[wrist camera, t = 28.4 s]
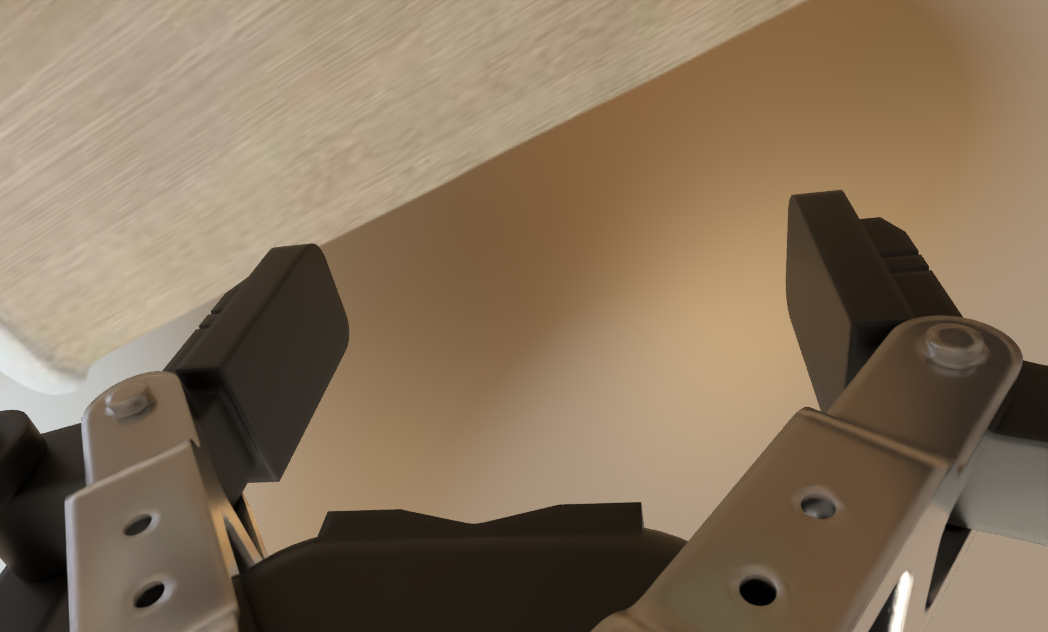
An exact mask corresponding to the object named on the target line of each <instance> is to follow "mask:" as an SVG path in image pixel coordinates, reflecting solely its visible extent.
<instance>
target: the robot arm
mask: <svg viewBox="0 0 1048 632" xmlns="http://www.w3.org/2000/svg"><path fill="white" fill-rule="evenodd" d="M786 297H787V305H788V311H789V315H790V319H791V322H792V325H793V328H794V331H795V334H796V337H797V340H798V343H799V346H800V349H801V352H802V355H803V358H804V361H805V364H806V367H807V370H808V373H809V376H810V379H811V382H812V385H813V388H814V391H815V394H816V397H817V400H818V403H819V407H820V409H821V411H818V410H815V409H813V408H810V407H804V408H802V409H800V410H799V411H798V412H797V413H796V414H795V415H794V416H793V417H792V418H791V419H790V420H789V421H788V423H787V424H786V425H785V426H784V427H783V429H782V430H781V431H780V432H779V433H778V435H777V436H776V437H775V438H774V439H773V441H772V442H771V443H770V444H769V445H768V447H767V448H766V449H765V450H764V452H763V453H762V454H761V455H760V456H759V457H758V459H757V460H756V461H755V462H754V463H753V465H752V466H751V467H750V468H749V469H748V471H747V472H746V473H745V474H744V475H743V477H742V478H741V479H740V480H739V482H738V483H737V484H736V485H735V486H734V487H733V488H732V490H731V491H730V492H729V493H728V495H727V496H726V497H725V498H724V499H723V500H722V502H721V503H720V504H719V505H718V506H717V508H716V509H715V510H714V511H713V512H712V514H711V515H710V516H709V517H708V518H707V520H706V521H705V522H704V523H703V525H702V526H701V527H700V528H699V529H698V530H697V532H696V533H695V534H694V535H693V536H692V538H691V539H690V540H689V541H686V540H684V539H682V538H679V537H676V536H673V535H670V534H667V533H664V532H661V531H656V530H651V529H647V528H644V522H643V514H642V506H641V502H631V503H599V504H564V505H556V506H552V507H547V508H543V509H539V510H535V511H530V512H526V513H522V514H518V515H514V516H509V517H505V518H501V519H497V520H493V521H489V522H484V523H478V524H470V523H464V522H459V521H454V520H449V519H444V518H439V517H434V516H430V515H425V514H420V513H415V512H410V511H406V510H401V509H398V510H397V509H396V510H362V511H331V512H328V513H327V515H326V517H325V520H324V522H323V525H322V527H321V530H320V532H319V534H318V537H315V538H311V539H308V540H305V541H303V542H300V543H297V544H294V545H291V546H289V547H287V548H285V549H282V550H280V551H278V552H276V553H274V554H273V555H271V556H269V557H268V554H267V552H266V549H265V546H264V543H263V541H262V538H261V535H260V532H259V530H258V527H257V524H256V521H255V518H254V516H253V513H252V510H251V507H250V505H249V504H248V502H247V500H246V498H245V496H244V494H243V493H242V492H243V490H244V488H245V486H246V485H247V483H255V482H279V481H280V479H281V477H282V475H283V473H284V471H285V470H286V468H287V466H288V463H289V462H290V460H291V458H292V456H293V453H294V452H295V450H296V448H297V446H298V444H299V442H300V440H301V438H302V436H303V434H304V432H305V430H306V428H307V426H308V424H309V422H310V420H311V418H312V416H313V414H314V412H315V410H316V408H317V406H318V404H319V402H320V400H321V398H322V396H323V394H324V392H325V390H326V388H327V387H328V384H329V383H330V381H331V379H332V377H333V375H334V373H335V371H336V369H337V367H338V365H339V363H340V361H341V359H342V357H343V355H344V353H345V351H346V349H347V346H348V341H349V325H348V319H347V316H346V313H345V310H344V307H343V304H342V302H341V299H340V296H339V294H338V291H337V288H336V286H335V283H334V280H333V277H332V275H331V272H330V269H329V267H328V264H327V261H326V259H325V256H324V254H323V252H322V250H321V249H320V248H319V247H318V246H317V245H316V244H303V245H293V246H283V247H275V248H272V249H271V250H270V251H269V252H268V253H267V254H266V255H265V257H264V258H263V259H262V261H261V262H260V263H259V264H258V266H257V267H256V268H255V269H254V271H253V272H252V273H251V274H250V276H249V277H248V278H246V279H245V280H243V281H242V282H241V283H239V284H238V285H236V286H235V287H234V288H232V289H231V290H229V291H228V292H227V293H225V295H224V296H223V297H222V298H221V300H220V301H219V302H218V303H217V304H216V306H215V307H214V308H213V309H212V311H211V315H207V317H206V318H205V319H204V320H203V322H202V323H201V324H200V325H199V328H200V329H197V330H195V332H194V333H193V334H192V335H191V336H190V338H189V339H188V340H187V341H186V343H185V344H184V345H183V346H182V347H181V349H180V350H179V351H178V352H177V354H176V355H175V356H174V357H173V358H172V360H171V361H170V362H169V363H168V365H167V366H166V367H165V368H164V370H163V371H154V372H147V373H143V374H139V375H136V376H133V377H131V378H128V379H126V380H124V381H122V382H119V383H117V384H116V385H114V386H112V387H110V388H109V389H107V390H106V391H104V392H103V393H102V394H100V395H99V396H98V397H97V398H96V399H95V400H94V401H93V402H91V404H90V405H89V406H88V407H87V408H86V410H85V412H84V413H83V416H82V419H81V423H79V424H75V425H72V426H68V427H65V428H61V429H58V430H54V431H50V432H47V433H43V434H40V432H39V431H38V430H37V428H36V427H35V425H34V424H33V423H32V421H31V420H30V418H29V417H28V416H27V415H26V414H25V413H24V412H22V411H18V410H6V411H0V558H1V559H2V560H3V562H4V563H5V564H6V565H7V566H6V567H5V569H4V570H3V571H2V572H1V574H0V632H925V630H926V628H927V626H928V625H929V623H930V621H931V619H932V617H933V615H934V613H935V611H936V609H937V607H938V605H939V603H940V602H941V600H942V598H943V596H944V594H945V592H946V590H947V588H948V586H949V584H950V582H951V580H952V578H953V577H954V575H955V573H956V571H957V569H958V567H959V565H960V563H961V561H962V559H963V557H964V555H965V553H966V552H967V550H968V548H969V546H970V544H971V542H972V540H973V538H974V536H975V534H976V533H977V531H982V532H987V533H991V534H996V535H1000V536H1005V537H1010V538H1014V539H1018V540H1023V541H1028V542H1033V543H1037V544H1041V545H1046V546H1048V366H1046V365H1041V364H1036V363H1032V362H1028V361H1024V360H1023V356H1022V353H1021V350H1020V349H1019V347H1018V346H1017V344H1016V343H1015V342H1014V341H1013V340H1012V339H1011V338H1010V337H1009V336H1007V335H1006V334H1005V333H1003V332H1002V331H999V330H998V329H996V328H994V327H992V326H990V325H987V324H985V323H982V322H979V321H975V320H972V319H967V318H963V317H962V315H961V314H960V312H959V311H958V309H957V308H956V306H955V305H954V303H953V302H952V300H951V299H950V297H949V296H948V294H947V293H946V292H945V290H944V288H943V287H942V285H941V284H940V282H939V281H938V279H937V278H936V276H935V275H934V273H933V272H932V271H929V266H928V264H927V263H926V261H925V260H924V258H923V257H922V256H921V255H919V254H918V250H917V248H916V247H915V245H914V244H913V242H912V241H911V239H910V238H909V236H908V235H907V234H906V232H905V231H903V230H901V229H899V228H898V227H896V226H894V225H893V224H891V223H889V222H887V221H886V220H884V219H882V218H880V217H878V218H867V219H859V218H858V216H857V214H856V212H855V211H854V209H853V207H852V205H851V204H850V202H849V200H848V198H847V197H846V195H845V193H844V192H843V191H842V190H835V191H825V192H816V193H807V194H797V195H792V196H791V197H790V201H789V209H788V232H787V260H786Z"/></svg>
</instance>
